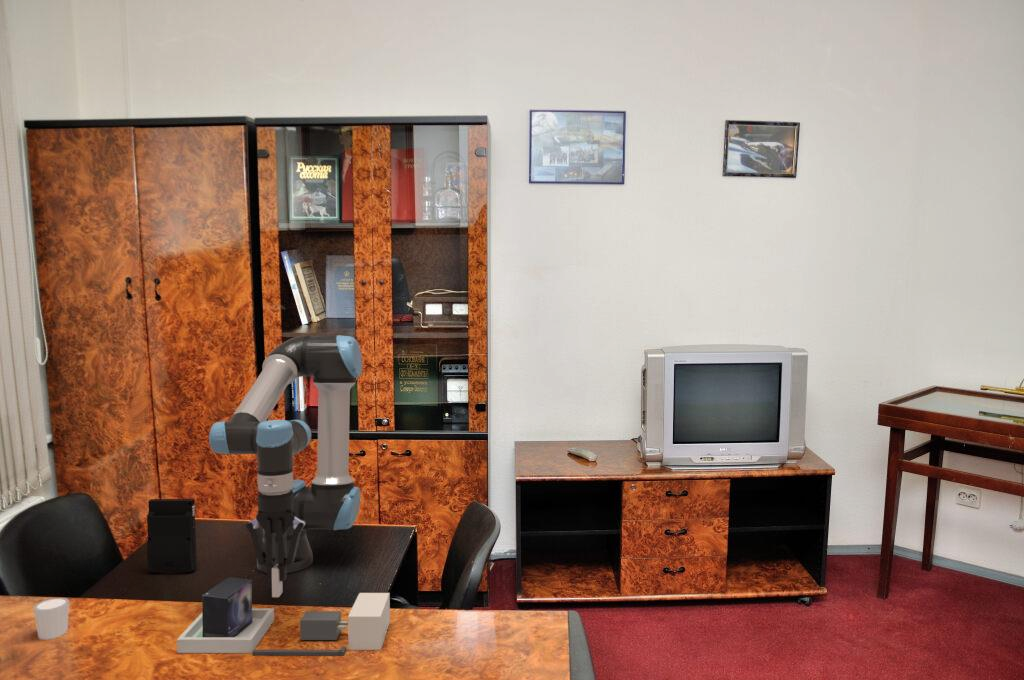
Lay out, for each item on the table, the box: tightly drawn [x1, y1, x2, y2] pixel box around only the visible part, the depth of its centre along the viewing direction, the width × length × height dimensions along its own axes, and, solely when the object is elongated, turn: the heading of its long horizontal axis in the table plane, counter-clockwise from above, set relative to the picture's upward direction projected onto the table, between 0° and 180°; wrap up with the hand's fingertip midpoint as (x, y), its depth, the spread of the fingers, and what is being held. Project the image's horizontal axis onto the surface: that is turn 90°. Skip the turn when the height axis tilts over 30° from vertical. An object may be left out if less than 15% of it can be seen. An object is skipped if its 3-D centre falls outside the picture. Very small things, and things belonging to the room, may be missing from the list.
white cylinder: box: [33, 597, 70, 641], centre depth 165 cm, size 7×7×7 cm
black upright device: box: [146, 498, 198, 575], centre depth 199 cm, size 12×5×20 cm, turn 92°
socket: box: [347, 592, 391, 651], centre depth 164 cm, size 12×7×8 cm, turn 0°
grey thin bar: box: [251, 645, 347, 657], centre depth 157 cm, size 2×20×1 cm, turn 90°
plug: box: [299, 610, 348, 641], centre depth 164 cm, size 4×10×4 cm, turn 90°
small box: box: [201, 576, 253, 637], centre depth 164 cm, size 11×6×10 cm, turn 169°
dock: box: [176, 607, 275, 654], centre depth 164 cm, size 15×16×3 cm
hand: (277, 594), depth 163 cm, fingers closed
